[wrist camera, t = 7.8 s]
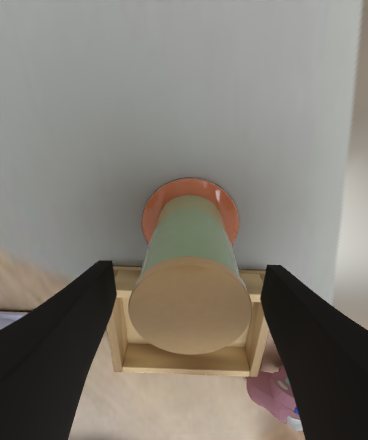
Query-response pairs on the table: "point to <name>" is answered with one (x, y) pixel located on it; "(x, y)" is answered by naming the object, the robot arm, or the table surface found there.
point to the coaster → (191, 188)
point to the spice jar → (190, 282)
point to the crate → (185, 363)
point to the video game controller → (275, 396)
